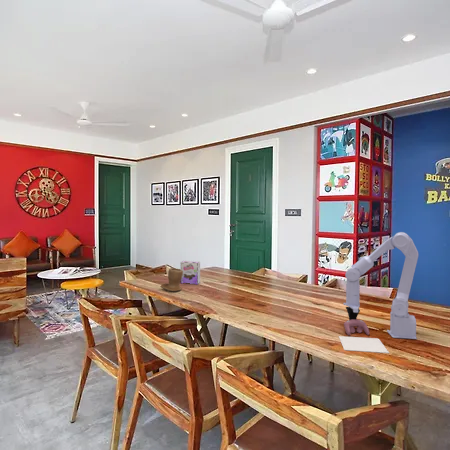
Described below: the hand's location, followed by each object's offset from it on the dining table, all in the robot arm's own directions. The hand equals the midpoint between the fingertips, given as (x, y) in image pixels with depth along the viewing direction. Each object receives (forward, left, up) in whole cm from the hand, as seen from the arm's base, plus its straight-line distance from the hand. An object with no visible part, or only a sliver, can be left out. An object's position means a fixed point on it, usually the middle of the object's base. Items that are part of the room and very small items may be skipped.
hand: (352, 323), depth 151 cm
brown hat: (+106, -57, -2) cm, 120 cm away
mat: (0, +19, -2) cm, 19 cm away
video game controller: (0, +7, -2) cm, 8 cm away
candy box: (+100, -79, -2) cm, 127 cm away
